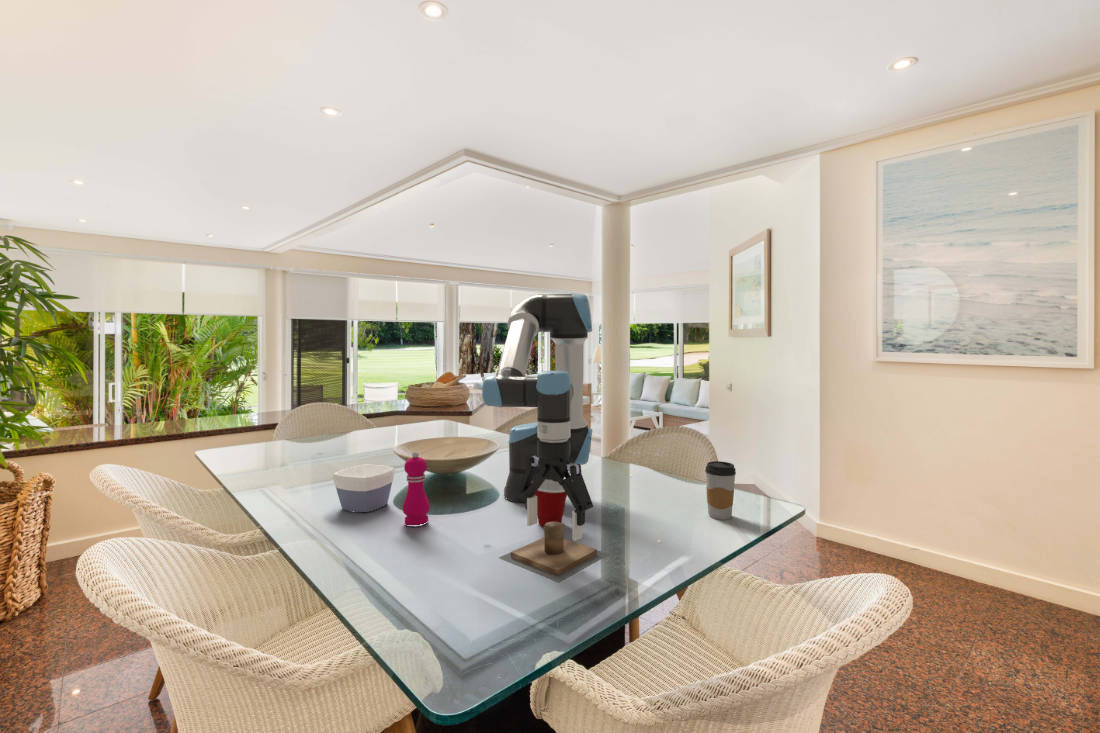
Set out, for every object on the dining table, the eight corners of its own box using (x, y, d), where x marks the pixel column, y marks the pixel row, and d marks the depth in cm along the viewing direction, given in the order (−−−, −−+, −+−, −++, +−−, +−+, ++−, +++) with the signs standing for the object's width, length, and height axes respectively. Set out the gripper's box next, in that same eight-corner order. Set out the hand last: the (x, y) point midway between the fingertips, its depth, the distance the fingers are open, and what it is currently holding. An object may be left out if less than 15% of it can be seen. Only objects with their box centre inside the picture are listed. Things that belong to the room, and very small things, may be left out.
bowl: (326, 511, 150) (325, 474, 149) (363, 496, 164) (362, 462, 163) (367, 518, 144) (366, 479, 143) (402, 502, 158) (401, 467, 158)
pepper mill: (435, 521, 142) (434, 450, 140) (418, 529, 135) (417, 455, 134) (414, 517, 145) (413, 447, 143) (397, 525, 138) (395, 453, 137)
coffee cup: (734, 512, 147) (735, 462, 147) (735, 522, 140) (736, 469, 139) (705, 509, 150) (705, 459, 149) (703, 519, 142) (704, 466, 141)
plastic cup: (567, 536, 130) (567, 490, 130) (526, 533, 132) (526, 488, 132) (573, 521, 141) (573, 478, 140) (535, 518, 143) (535, 476, 142)
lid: (510, 557, 115) (510, 526, 115) (551, 539, 126) (550, 510, 126) (557, 575, 106) (557, 542, 106) (596, 554, 117) (596, 523, 116)
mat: (498, 561, 115) (498, 557, 115) (550, 538, 129) (550, 534, 129) (558, 587, 103) (558, 582, 103) (608, 558, 117) (608, 554, 117)
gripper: (503, 434, 120) (504, 522, 121) (588, 449, 104) (587, 551, 105) (525, 430, 126) (525, 514, 127) (608, 443, 109) (608, 540, 110)
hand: (554, 531), depth 116 cm, fingers open, 13 cm apart
